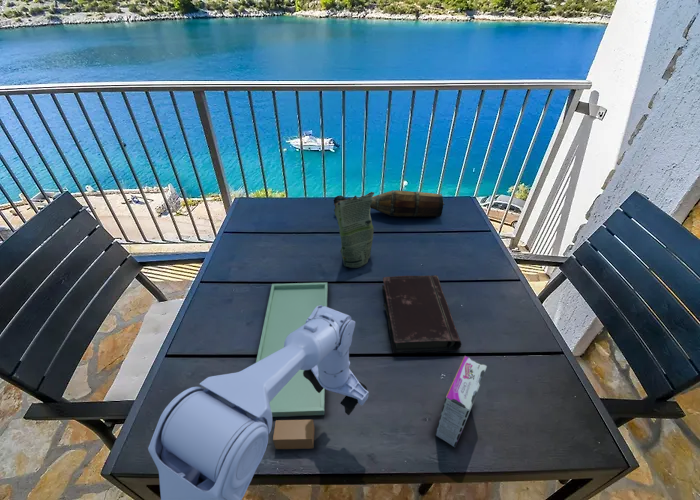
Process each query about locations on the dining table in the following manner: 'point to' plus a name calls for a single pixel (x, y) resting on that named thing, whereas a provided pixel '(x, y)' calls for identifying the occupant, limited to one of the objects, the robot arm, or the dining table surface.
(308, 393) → the tray
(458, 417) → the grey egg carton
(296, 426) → the block
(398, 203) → the decorative bottle
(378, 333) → the dining table surface
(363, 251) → the pouch
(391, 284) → the diary
